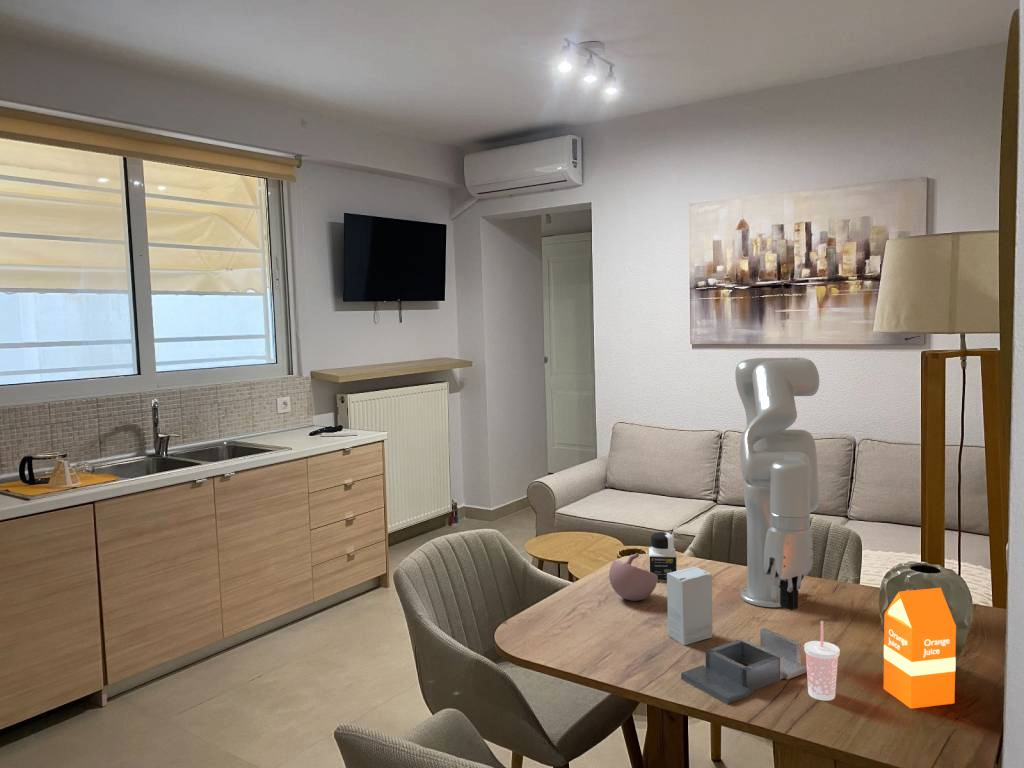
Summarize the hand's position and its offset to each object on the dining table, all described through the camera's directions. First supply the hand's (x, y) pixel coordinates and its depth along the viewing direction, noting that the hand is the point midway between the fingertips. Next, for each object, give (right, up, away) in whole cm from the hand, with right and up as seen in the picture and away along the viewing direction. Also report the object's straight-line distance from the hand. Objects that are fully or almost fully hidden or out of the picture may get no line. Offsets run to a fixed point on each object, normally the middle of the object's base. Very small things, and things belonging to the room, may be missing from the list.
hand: (789, 607), depth 155 cm
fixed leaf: (-14, -12, -9) cm, 21 cm away
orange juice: (+18, -12, -16) cm, 27 cm away
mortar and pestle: (-26, -9, +35) cm, 45 cm away
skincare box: (-18, -10, +11) cm, 23 cm away
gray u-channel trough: (-5, -11, -3) cm, 12 cm away
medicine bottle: (-16, -7, +51) cm, 54 cm away
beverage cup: (0, -12, -15) cm, 19 cm away
